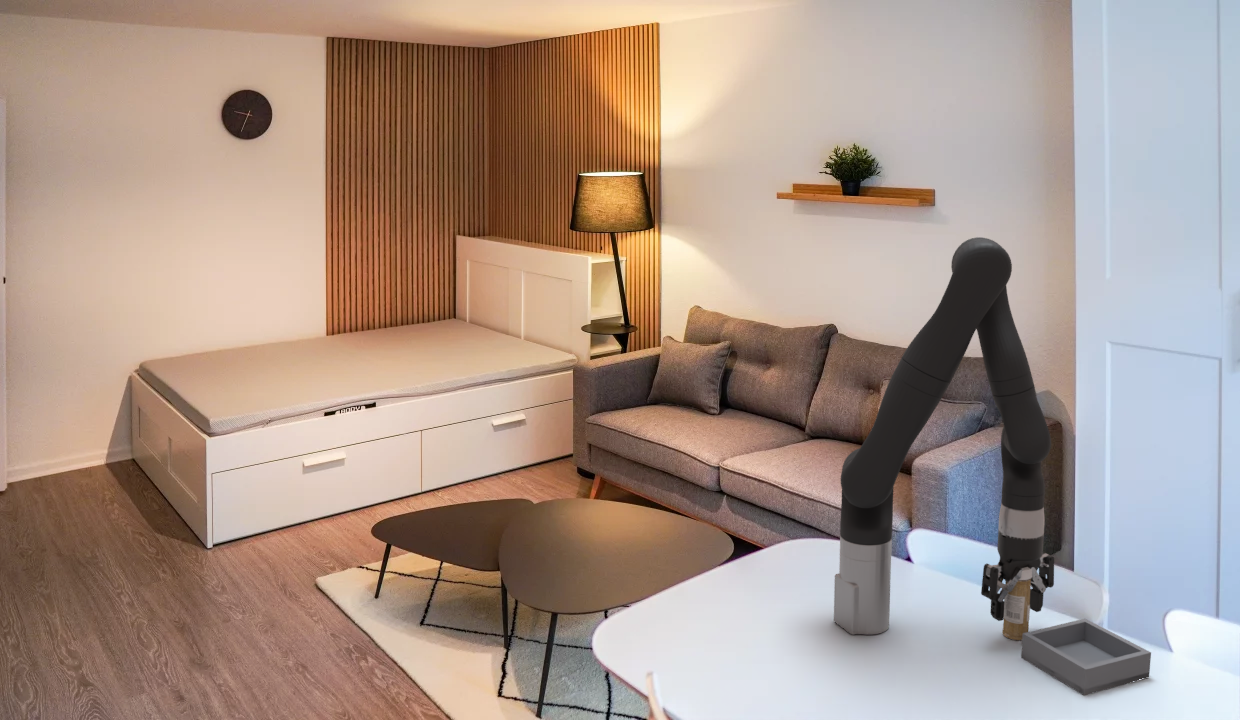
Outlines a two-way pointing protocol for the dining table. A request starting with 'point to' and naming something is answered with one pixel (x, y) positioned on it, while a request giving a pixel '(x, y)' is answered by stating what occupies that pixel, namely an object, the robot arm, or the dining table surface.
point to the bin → (1085, 656)
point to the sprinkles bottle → (1018, 607)
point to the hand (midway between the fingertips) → (1016, 614)
